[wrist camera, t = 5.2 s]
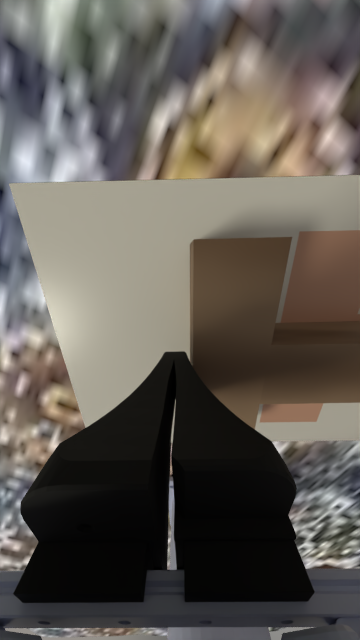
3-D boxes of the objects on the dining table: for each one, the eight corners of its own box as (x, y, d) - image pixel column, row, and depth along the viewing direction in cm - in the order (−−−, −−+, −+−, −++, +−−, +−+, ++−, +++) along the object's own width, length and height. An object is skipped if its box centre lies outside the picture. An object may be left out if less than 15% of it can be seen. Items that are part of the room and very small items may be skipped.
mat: (447, 433, 16) (455, 439, 15) (93, 438, 16) (90, 443, 16) (657, 171, 9) (684, 167, 8) (17, 187, 9) (9, 183, 9)
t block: (351, 417, 14) (392, 456, 12) (190, 419, 15) (192, 458, 12) (435, 238, 9) (543, 230, 7) (189, 244, 10) (193, 239, 7)
